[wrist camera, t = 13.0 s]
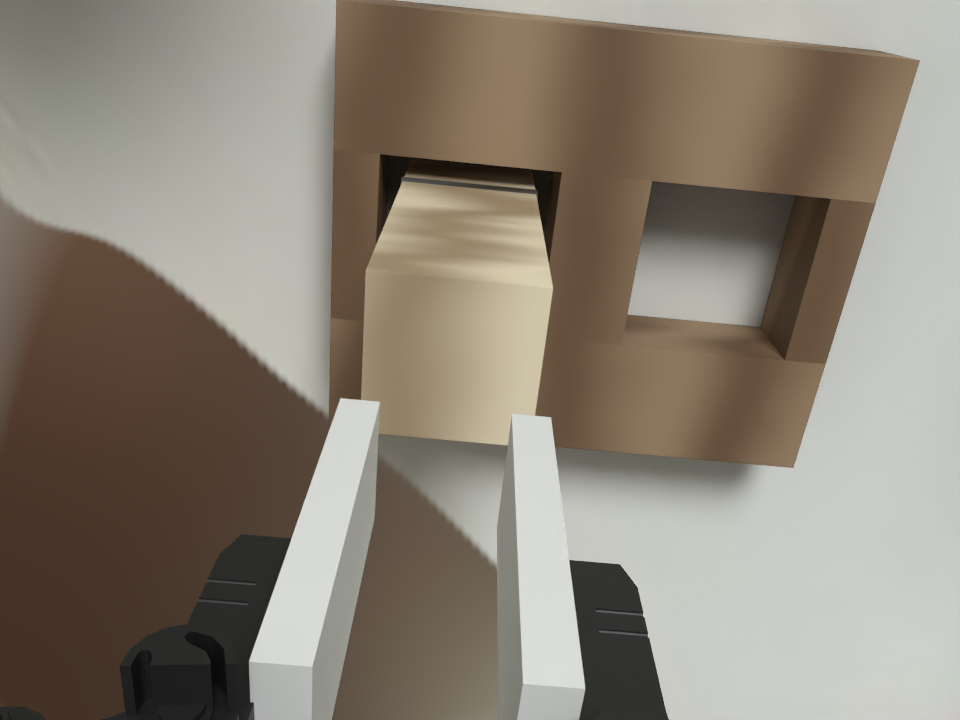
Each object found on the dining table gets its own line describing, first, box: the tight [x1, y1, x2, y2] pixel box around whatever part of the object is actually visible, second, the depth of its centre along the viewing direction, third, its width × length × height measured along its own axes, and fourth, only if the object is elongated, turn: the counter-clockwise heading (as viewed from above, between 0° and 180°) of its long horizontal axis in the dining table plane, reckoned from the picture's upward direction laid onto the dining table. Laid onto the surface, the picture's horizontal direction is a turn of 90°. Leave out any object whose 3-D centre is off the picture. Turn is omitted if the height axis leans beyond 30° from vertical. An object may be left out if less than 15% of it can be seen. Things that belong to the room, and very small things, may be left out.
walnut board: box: [329, 0, 920, 468], centre depth 30 cm, size 18×15×3 cm
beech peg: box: [361, 159, 553, 445], centre depth 26 cm, size 4×4×12 cm
